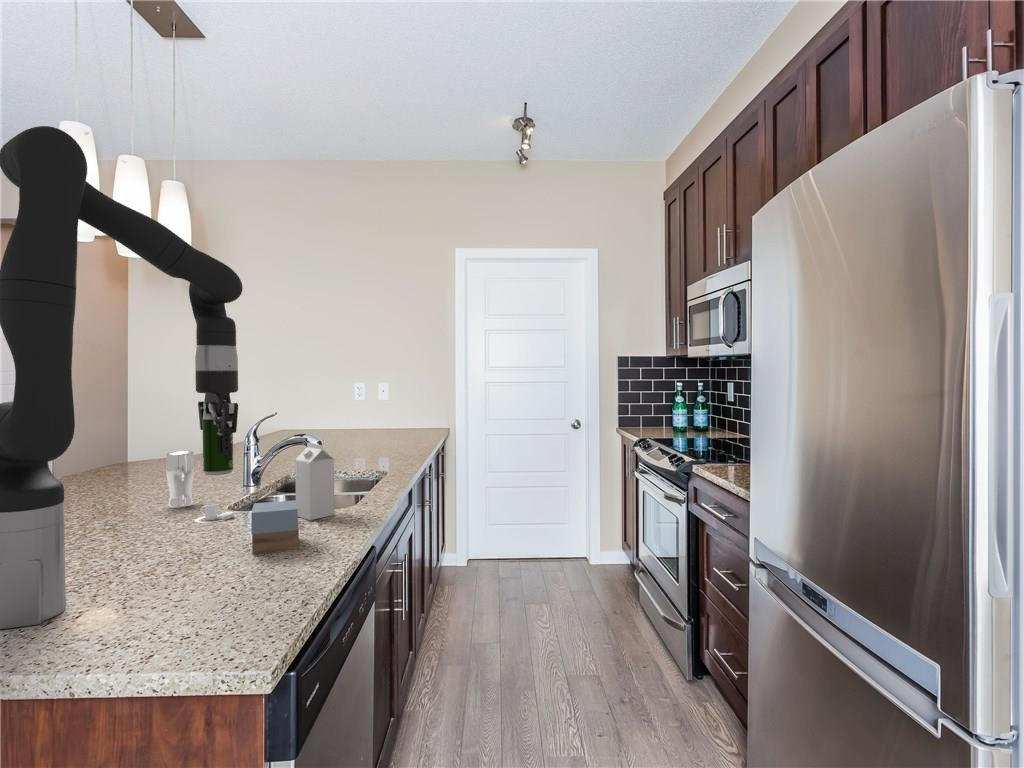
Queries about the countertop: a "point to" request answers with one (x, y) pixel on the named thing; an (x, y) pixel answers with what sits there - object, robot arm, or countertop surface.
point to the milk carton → (315, 483)
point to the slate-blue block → (274, 517)
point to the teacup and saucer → (213, 514)
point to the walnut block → (275, 542)
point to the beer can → (214, 450)
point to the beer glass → (180, 478)
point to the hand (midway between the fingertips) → (218, 453)
